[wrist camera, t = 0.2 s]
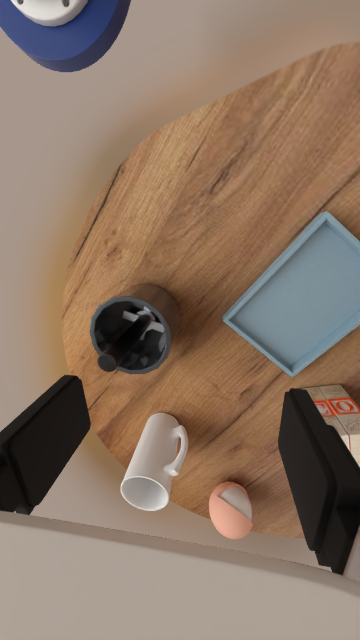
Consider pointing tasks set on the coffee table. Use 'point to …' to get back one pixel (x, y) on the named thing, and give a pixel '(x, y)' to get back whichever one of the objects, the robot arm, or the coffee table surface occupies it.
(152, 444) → the mug
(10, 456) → the robot arm
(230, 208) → the coffee table surface
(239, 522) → the toy ball
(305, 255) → the tray
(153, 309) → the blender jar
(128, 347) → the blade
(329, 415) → the stack of blocks
